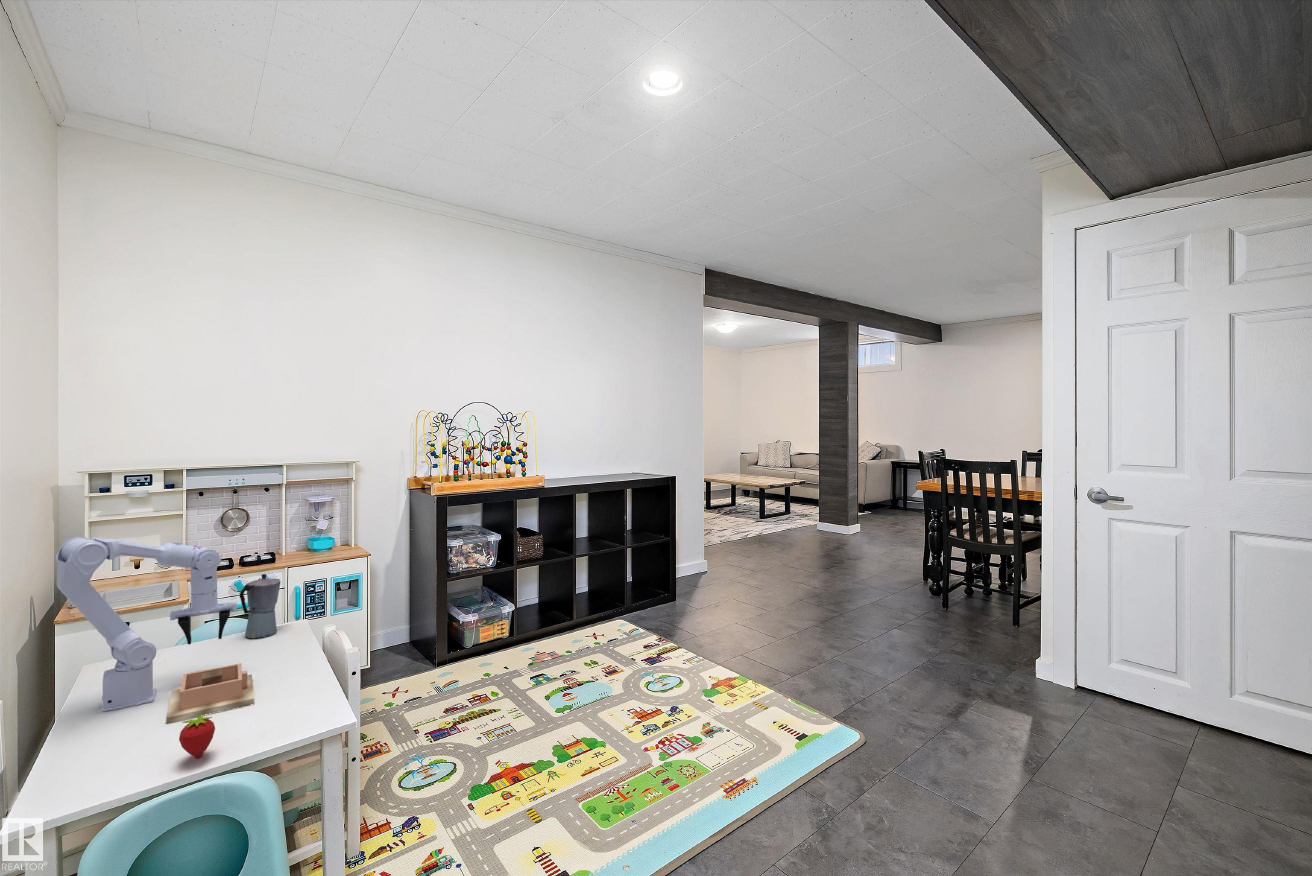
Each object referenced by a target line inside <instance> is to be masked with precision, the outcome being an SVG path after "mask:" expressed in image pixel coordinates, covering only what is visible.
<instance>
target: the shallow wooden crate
mask: <svg viewBox="0 0 1312 876" xmlns="http://www.w3.org/2000/svg"><path fill="white" fill-rule="evenodd" d="M217 670H222V683H217V684H212V685H207V686H202V675H203V673H207V672H212V671H217ZM247 675H248V670H242V663H241V662H240V663H239V662H238V663H236V664H229V665H225V666H219V667H215V668H214V667H213V668H210V669H204V670H198V671H192V672H189V673H188V672H187V673H183V674H182V678H181V683H180V684H181V685H180V688H179V689H180V711H181V710H186V709H190V708H195V707H199V706H204V705H209V704H213V703H218V702H222V701H227V700H231V699H236V698H241V697H242V688H243V687H247ZM234 679H235V680H234ZM229 680H232V681H229ZM225 681H227V682H225ZM200 686H202V687H200ZM195 687H197V688H195ZM190 688H192V689H190Z"/></svg>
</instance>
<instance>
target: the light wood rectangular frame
mask: <svg viewBox="0 0 1312 876" xmlns="http://www.w3.org/2000/svg"><path fill="white" fill-rule="evenodd" d="M253 681H254V680H253V675H252V674H247V687H243V688H242V697H241V698H236V699H231V700H227V701H222V702H218V703H213V704H209V705H204V706H199V707H195V708H190V709H186V710H181V711H180V689H181V688H178V689H171V693H170V698H169V703H168V707H167V712H166V717H165V718H166V719H165V720H166V723H165V724H166V725H169V724H172V723H178V722H183V721H187V720H190V719H189V718H191V719H195V718H198V716H201V715H204V716H206V715H205V714H209V713H213V712H217V713H219V712H218V711H222V712H224V711H223V710H226V711H228V710H227V709H231V710H234V709H233V708H235V709H238V708H237V707H239V708H243V707H242V706H244V707H247V706H252V705H251V704H253V705H255V693H254V683H253ZM194 712H195V713H196V714H195V713H194ZM197 714H198V715H197ZM213 714H214V713H213ZM209 715H210V714H209ZM194 717H195V718H194ZM176 721H177V722H176Z"/></svg>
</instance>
